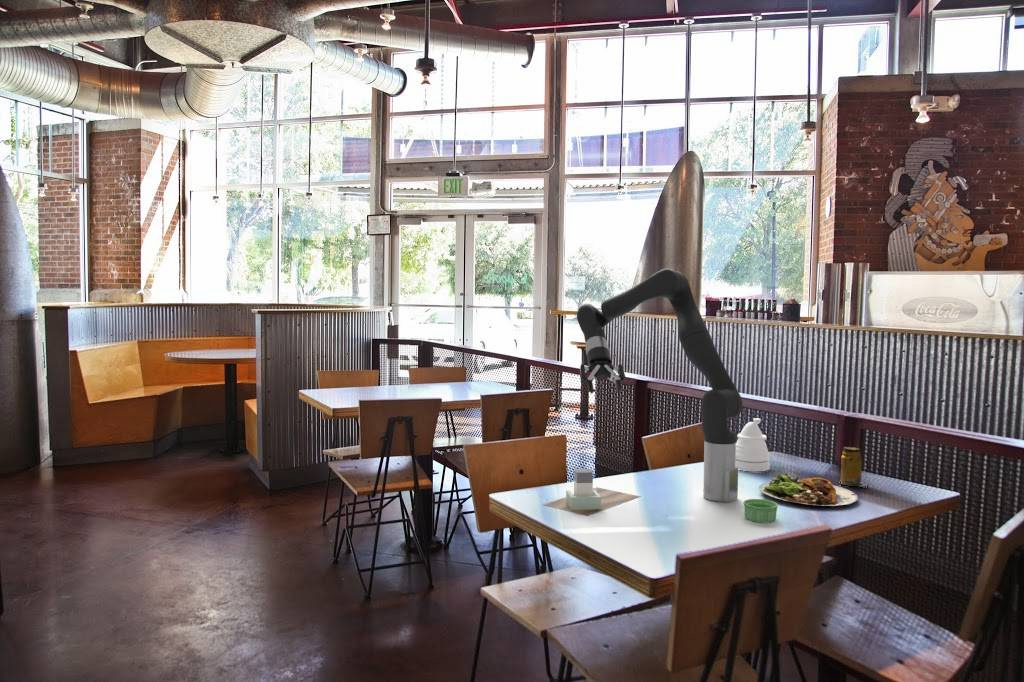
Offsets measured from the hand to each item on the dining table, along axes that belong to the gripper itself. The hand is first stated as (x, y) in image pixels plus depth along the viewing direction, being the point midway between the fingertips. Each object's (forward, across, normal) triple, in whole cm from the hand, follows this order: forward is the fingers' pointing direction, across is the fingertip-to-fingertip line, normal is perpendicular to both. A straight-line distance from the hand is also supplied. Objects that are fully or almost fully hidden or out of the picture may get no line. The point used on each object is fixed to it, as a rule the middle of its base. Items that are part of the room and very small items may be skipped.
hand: (605, 391), depth 236 cm
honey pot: (+6, +58, +38) cm, 70 cm away
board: (+36, -8, +8) cm, 37 cm away
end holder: (+38, -12, +4) cm, 40 cm away
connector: (+38, -12, +4) cm, 40 cm away
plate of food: (+34, +59, +10) cm, 69 cm away
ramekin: (+48, +35, -4) cm, 60 cm away
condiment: (+24, +82, +19) cm, 88 cm away
